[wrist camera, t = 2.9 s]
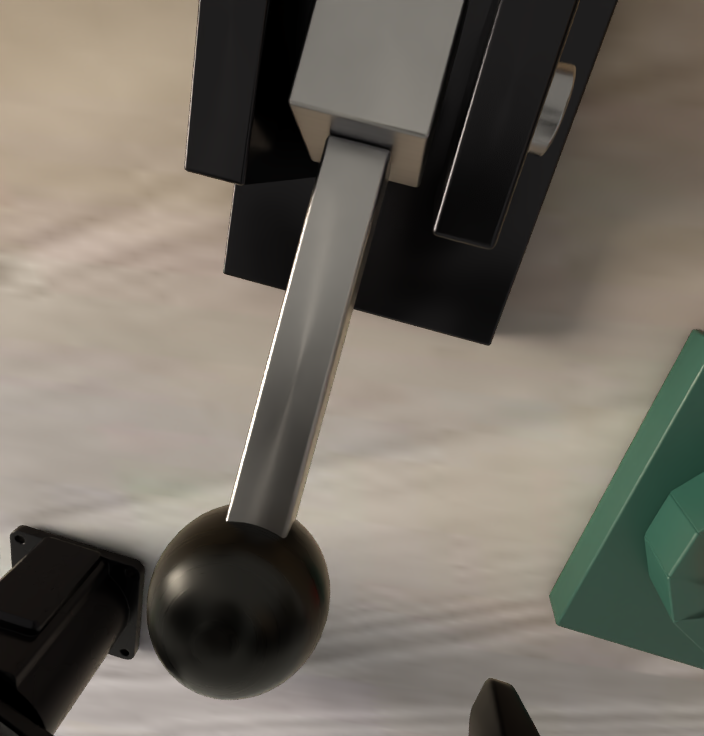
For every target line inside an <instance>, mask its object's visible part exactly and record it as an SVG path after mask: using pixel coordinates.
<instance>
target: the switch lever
mask: <svg viewBox="0 0 704 736" xmlns="http://www.w3.org/2000/svg"><path fill="white" fill-rule="evenodd" d="M469 1H470V0H314V1H313V5H312V9H311V12H310V16H309V20H308V24H307V28H306V32H305V36H304V39H303V43H302V47H301V51H300V55H299V59H298V63H297V67H296V70H295V74H294V78H293V82H292V86H291V90H290V94H289V98H288V104H289V107H290V109H291V112H292V114H293V117H294V119H295V121H296V124H297V126H298V129H299V131H300V134H301V136H302V139H303V141H304V144H305V146H306V149H307V151H308V153H309V156H310V158H311V160H312V161H315V162H319V163H320V164H319V167H318V171H317V175H316V179H315V183H314V186H313V190H312V194H311V198H310V201H309V205H308V209H307V213H306V217H305V220H304V224H303V228H302V232H301V235H300V239H299V243H298V247H297V251H296V254H295V258H294V262H293V266H292V269H291V273H290V277H289V281H288V285H287V288H286V292H285V296H284V300H283V304H282V307H281V311H280V315H279V319H278V322H277V326H276V330H275V334H274V338H273V341H272V345H271V349H270V353H269V356H268V360H267V364H266V368H265V372H264V375H263V379H262V383H261V387H260V390H259V394H258V398H257V402H256V406H255V409H254V413H253V417H252V421H251V425H250V428H249V432H248V436H247V440H246V443H245V447H244V451H243V455H242V459H241V462H240V466H239V470H238V474H237V477H236V481H235V485H234V489H233V493H232V496H231V500H230V504H229V505H225V506H222V507H219V508H216V509H213V510H211V511H209V512H206V513H204V514H202V515H201V516H199V517H198V518H196V519H195V520H193V521H192V522H190V523H189V524H188V525H186V526H185V527H184V528H183V529H182V530H181V531H180V532H179V533H178V534H177V535H176V536H175V537H174V539H173V540H172V541H171V542H170V543H169V544H168V546H167V547H166V549H165V550H164V552H163V553H162V555H161V557H160V559H159V561H158V563H157V565H156V567H155V569H154V572H153V575H152V578H151V582H150V585H149V590H148V596H147V625H148V630H149V635H150V638H151V641H152V644H153V647H154V650H155V652H156V654H157V656H158V658H159V660H160V661H161V663H162V664H163V666H164V667H165V668H166V670H167V671H168V672H169V673H170V674H171V675H172V676H173V677H174V678H175V679H176V680H177V681H178V682H179V683H181V684H182V685H184V686H185V687H186V688H188V689H190V690H192V691H194V692H196V693H198V694H201V695H203V696H206V697H210V698H214V699H221V700H238V699H245V698H251V697H254V696H258V695H261V694H263V693H266V692H268V691H270V690H272V689H274V688H275V687H277V686H279V685H280V684H282V683H284V682H285V681H286V680H288V679H289V678H290V677H291V676H293V675H294V674H295V673H296V672H297V671H298V670H299V669H300V667H301V666H302V665H303V664H304V663H305V662H306V661H307V659H308V658H309V656H310V655H311V654H312V652H313V650H314V649H315V647H316V645H317V643H318V641H319V640H320V638H321V635H322V632H323V629H324V627H325V624H326V621H327V616H328V611H329V603H330V580H329V575H328V570H327V565H326V562H325V559H324V556H323V554H322V552H321V550H320V548H319V546H318V544H317V543H316V541H315V540H314V538H313V536H312V535H311V534H310V533H309V531H308V530H307V529H306V528H305V527H304V526H303V525H302V524H301V523H300V522H299V521H298V520H296V516H297V513H298V509H299V505H300V502H301V498H302V494H303V491H304V487H305V484H306V480H307V476H308V473H309V469H310V465H311V462H312V458H313V454H314V451H315V447H316V443H317V440H318V436H319V432H320V429H321V425H322V421H323V418H324V414H325V410H326V407H327V403H328V399H329V396H330V392H331V388H332V385H333V381H334V378H335V374H336V370H337V367H338V363H339V359H340V356H341V352H342V348H343V345H344V341H345V337H346V334H347V330H348V326H349V323H350V319H351V315H352V312H353V308H354V304H355V301H356V297H357V293H358V290H359V286H360V283H361V279H362V275H363V272H364V268H365V264H366V261H367V257H368V253H369V250H370V246H371V242H372V239H373V235H374V231H375V228H376V224H377V220H378V217H379V213H380V209H381V206H382V202H383V198H384V195H385V191H386V188H387V184H388V180H389V181H393V182H397V183H401V184H404V185H408V186H412V187H419V185H420V183H421V179H422V176H423V172H424V169H425V165H426V161H427V158H428V154H429V151H430V147H431V143H432V140H433V136H434V133H435V129H436V125H437V122H438V118H439V115H440V111H441V107H442V104H443V100H444V97H445V93H446V89H447V86H448V82H449V79H450V75H451V71H452V68H453V64H454V61H455V57H456V53H457V50H458V46H459V42H460V38H461V34H462V30H463V25H464V21H465V17H466V13H467V9H468V5H469Z"/></svg>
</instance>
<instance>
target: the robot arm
mask: <svg viewBox="0 0 704 736" xmlns="http://www.w3.org/2000/svg"><path fill="white" fill-rule="evenodd" d="M10 543H11V560H12V569H11V570H10V571H9V572H7V573H6V574H5V575H4V576H3V577H2V578H1V579H0V736H54V733H55V732H56V730H57V729H58V727H59V726H60V724H61V723H62V721H63V720H64V718H65V717H66V715H67V714H68V712H69V711H70V709H71V708H72V706H73V705H74V703H75V702H76V700H77V699H78V697H79V696H80V694H81V693H82V691H83V690H84V689H85V687H86V686H87V684H88V683H89V681H90V680H91V678H92V677H93V675H94V674H95V672H96V671H97V669H98V668H99V666H100V665H101V663H102V662H103V660H104V659H105V657H106V656H107V654H110V655H113V656H117V657H120V658H123V659H127V660H129V659H132V658H133V657H134V656H135V654H136V652H137V651H138V647H139V635H140V623H141V611H142V599H143V587H144V576H145V568H144V566H143V564H142V563H141V562H140V561H138V560H136V559H132V558H129V557H126V556H123V555H119V554H116V553H113V552H110V551H106V550H103V549H100V548H97V547H93V546H90V545H87V544H84V543H80V542H77V541H74V540H71V539H67V538H64V537H61V536H58V535H54V534H51V533H48V532H45V531H41V530H38V529H35V528H32V527H28V526H24V525H21V526H19V527H18V528H16V529H15V530H14V531H13V532H12V533H11V535H10ZM469 736H540V734H539V733H538V731H537V729H536V727H535V725H534V723H533V721H532V720H531V718H530V716H529V714H528V712H527V710H526V708H525V707H524V705H523V703H522V701H521V699H520V697H519V695H518V694H517V692H516V690H515V688H514V687H513V686H512V685H511V684H509V683H506V682H503V681H500V680H497V679H493V678H489V679H487V680H486V681H485V683H484V685H483V687H482V689H481V691H480V693H479V694H478V696H477V698H476V700H475V702H474V704H473V706H472V709H471V713H470V719H469Z"/></svg>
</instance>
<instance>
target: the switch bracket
mask: <svg viewBox="0 0 704 736" xmlns="http://www.w3.org/2000/svg"><path fill="white" fill-rule="evenodd" d="M313 1H314V0H199V8H198V19H197V31H196V42H195V53H194V64H193V76H192V87H191V98H190V110H189V121H188V132H187V144H186V155H185V166H184V167H185V170H187V171H188V172H192V173H196V174H199V175H203V176H207V177H211V178H215V179H218V180H222V181H226V182H230V183H234V191H233V198H232V206H231V214H230V222H229V230H228V237H227V245H226V253H225V261H224V269H223V273H224V274H227V275H230V276H234V277H238V278H241V279H245V280H249V281H252V282H256V283H260V284H263V285H267V286H271V287H274V288H278V289H282V290H285V291H286V288H287V285H288V281H289V277H290V273H291V269H292V266H293V262H294V258H295V254H296V251H297V247H298V243H299V239H300V235H301V232H302V228H303V224H304V220H305V217H306V213H307V209H308V205H309V201H310V198H311V194H312V190H313V186H314V183H315V179H316V175H317V171H318V167H319V164H320V163H319V162H315V161H312V160H311V158H310V156H309V153H308V151H307V149H306V146H305V144H304V141H303V139H302V136H301V134H300V131H299V129H298V126H297V124H296V121H295V119H294V117H293V114H292V112H291V109H290V107H289V104H288V98H289V94H290V90H291V86H292V82H293V78H294V74H295V70H296V67H297V63H298V59H299V55H300V51H301V47H302V43H303V39H304V36H305V32H306V28H307V24H308V20H309V16H310V12H311V9H312V5H313ZM617 2H618V0H470V1H469V5H468V9H467V13H466V17H465V21H464V25H463V30H462V34H461V38H460V42H459V46H458V50H457V53H456V57H455V61H454V64H453V68H452V71H451V75H450V79H449V82H448V86H447V89H446V93H445V97H444V100H443V104H442V107H441V111H440V115H439V118H438V122H437V125H436V129H435V133H434V136H433V140H432V143H431V147H430V151H429V154H428V158H427V161H426V165H425V169H424V172H423V176H422V179H421V183H420V185H419V187H412V186H408V185H404V184H401V183H397V182H393V181H389V180H388V184H387V188H386V191H385V195H384V198H383V202H382V206H381V209H380V213H379V217H378V220H377V224H376V228H375V231H374V235H373V239H372V242H371V246H370V250H369V253H368V257H367V261H366V264H365V268H364V272H363V275H362V279H361V283H360V286H359V290H358V293H357V297H356V301H355V304H354V308H353V309H355V310H359V311H362V312H366V313H370V314H373V315H377V316H381V317H384V318H388V319H392V320H395V321H399V322H403V323H406V324H410V325H414V326H417V327H421V328H425V329H428V330H432V331H436V332H439V333H443V334H447V335H450V336H454V337H458V338H461V339H465V340H469V341H473V342H476V343H480V344H484V345H487V346H488V345H490V344H491V342H492V339H493V337H494V334H495V331H496V329H497V326H498V323H499V321H500V318H501V315H502V312H503V310H504V307H505V304H506V302H507V299H508V296H509V294H510V291H511V288H512V285H513V283H514V280H515V277H516V275H517V272H518V269H519V267H520V264H521V261H522V258H523V256H524V253H525V250H526V248H527V245H528V242H529V240H530V237H531V234H532V231H533V229H534V226H535V223H536V221H537V218H538V215H539V213H540V210H541V207H542V204H543V202H544V199H545V196H546V194H547V191H548V188H549V186H550V183H551V180H552V177H553V175H554V172H555V169H556V167H557V164H558V161H559V159H560V156H561V153H562V150H563V148H564V145H565V142H566V140H567V137H568V134H569V132H570V129H571V126H572V123H573V121H574V118H575V115H576V113H577V110H578V107H579V105H580V102H581V99H582V96H583V94H584V91H585V88H586V86H587V83H588V80H589V78H590V75H591V72H592V69H593V67H594V64H595V61H596V59H597V56H598V53H599V51H600V48H601V45H602V42H603V40H604V37H605V34H606V32H607V29H608V26H609V24H610V21H611V18H612V15H613V13H614V10H615V7H616V5H617Z"/></svg>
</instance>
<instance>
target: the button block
mask: <svg viewBox="0 0 704 736" xmlns="http://www.w3.org/2000/svg"><path fill="white" fill-rule="evenodd" d="M549 597H550V601H551V605H552V609H553V613H554V617H555V621H556V624H557V625H558V626H561V627H564V628H568V629H571V630H574V631H578V632H581V633H584V634H588V635H591V636H594V637H598V638H601V639H604V640H608V641H611V642H614V643H618V644H621V645H624V646H628V647H631V648H634V649H638V650H641V651H644V652H648V653H651V654H654V655H658V656H661V657H664V658H668V659H671V660H674V661H678V662H681V663H684V664H688V665H691V666H694V667H697V668H701V669H704V331H700V330H697V329H696V330H693V331H692V332H691V334H690V336H689V338H688V339H687V341H686V343H685V345H684V347H683V349H682V351H681V352H680V354H679V356H678V358H677V360H676V362H675V363H674V365H673V367H672V369H671V371H670V373H669V375H668V376H667V378H666V380H665V382H664V384H663V386H662V388H661V389H660V391H659V393H658V395H657V397H656V399H655V401H654V402H653V404H652V406H651V408H650V410H649V412H648V413H647V415H646V417H645V419H644V421H643V423H642V425H641V426H640V428H639V430H638V432H637V434H636V436H635V438H634V439H633V441H632V443H631V445H630V447H629V449H628V450H627V452H626V454H625V456H624V458H623V460H622V462H621V463H620V465H619V467H618V469H617V471H616V473H615V475H614V476H613V478H612V480H611V482H610V484H609V486H608V487H607V489H606V491H605V493H604V495H603V497H602V499H601V500H600V502H599V504H598V506H597V508H596V510H595V512H594V513H593V515H592V517H591V519H590V521H589V523H588V524H587V526H586V528H585V530H584V532H583V534H582V536H581V537H580V539H579V541H578V543H577V545H576V547H575V549H574V550H573V552H572V554H571V556H570V558H569V560H568V562H567V563H566V565H565V567H564V569H563V571H562V573H561V574H560V576H559V578H558V580H557V582H556V584H555V586H554V587H553V589H552V591H551V593H550V595H549Z"/></svg>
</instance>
